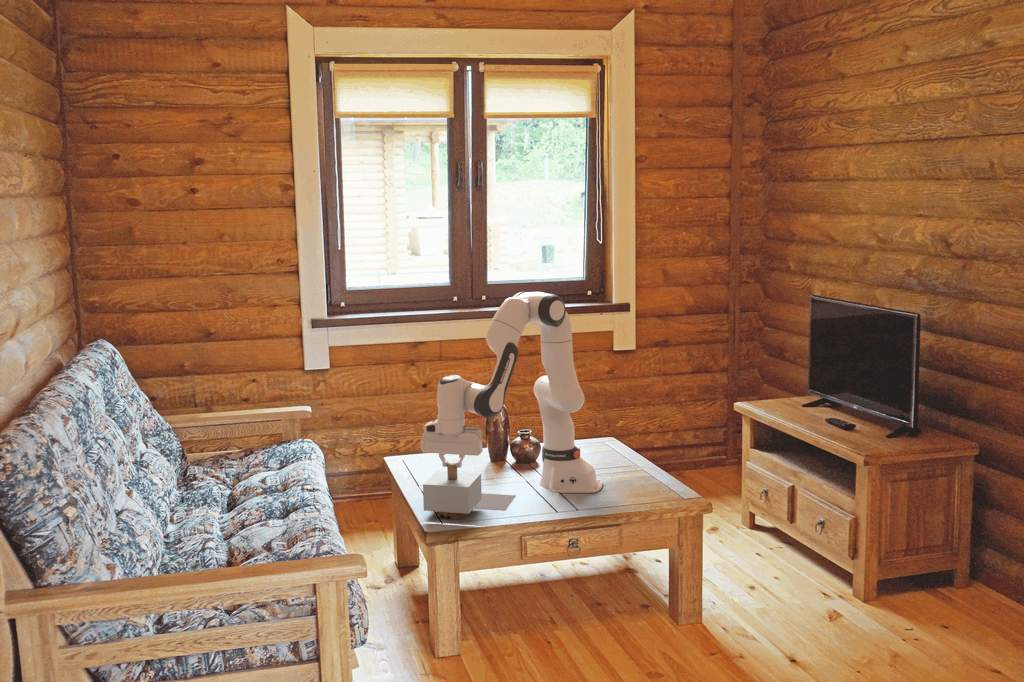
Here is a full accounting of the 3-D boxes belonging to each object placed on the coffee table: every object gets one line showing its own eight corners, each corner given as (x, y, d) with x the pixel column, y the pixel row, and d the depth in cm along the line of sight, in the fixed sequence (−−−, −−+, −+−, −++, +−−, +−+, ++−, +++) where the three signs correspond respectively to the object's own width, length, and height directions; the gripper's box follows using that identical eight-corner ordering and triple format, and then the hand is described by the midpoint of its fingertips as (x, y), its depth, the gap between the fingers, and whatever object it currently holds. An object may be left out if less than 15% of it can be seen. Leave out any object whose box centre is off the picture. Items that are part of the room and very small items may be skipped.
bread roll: (468, 528, 336) (477, 505, 337) (444, 521, 330) (452, 498, 331) (452, 520, 344) (460, 497, 345) (428, 513, 338) (436, 490, 339)
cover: (481, 498, 343) (480, 458, 341) (468, 513, 329) (468, 472, 326) (438, 495, 347) (437, 456, 344) (423, 510, 332) (422, 469, 330)
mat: (516, 497, 356) (516, 495, 356) (505, 512, 340) (505, 510, 340) (466, 493, 360) (466, 492, 360) (453, 508, 345) (453, 507, 344)
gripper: (484, 424, 334) (485, 465, 336) (424, 421, 339) (426, 462, 341) (479, 429, 328) (480, 471, 330) (418, 426, 333) (419, 467, 335)
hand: (452, 466), depth 336 cm, fingers closed on cover, 3 cm apart
